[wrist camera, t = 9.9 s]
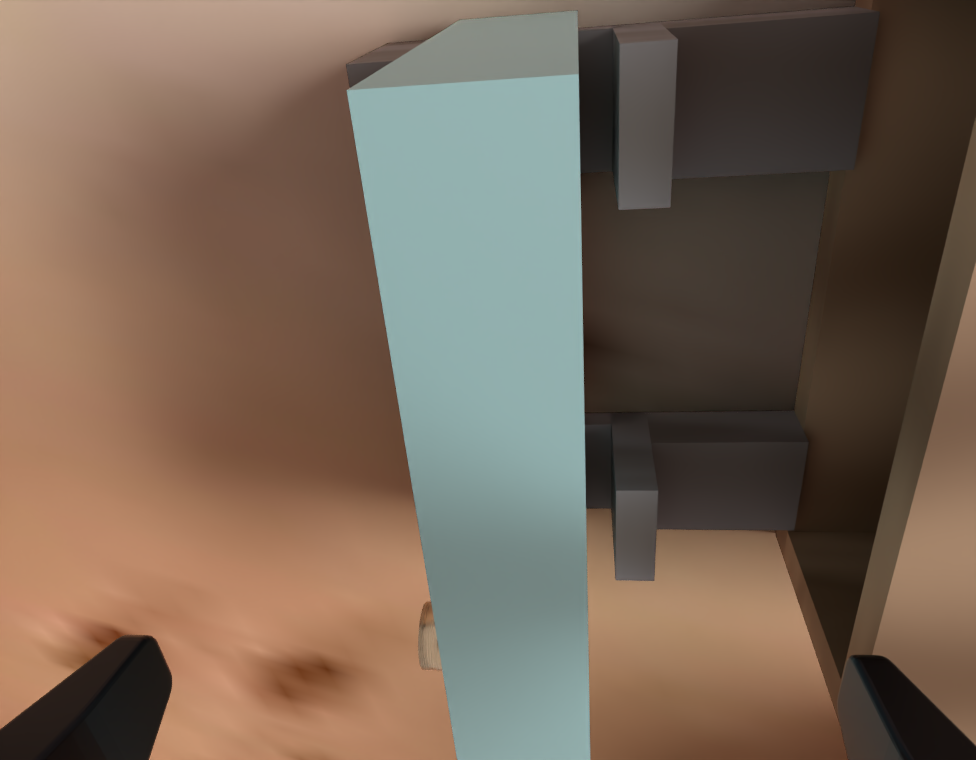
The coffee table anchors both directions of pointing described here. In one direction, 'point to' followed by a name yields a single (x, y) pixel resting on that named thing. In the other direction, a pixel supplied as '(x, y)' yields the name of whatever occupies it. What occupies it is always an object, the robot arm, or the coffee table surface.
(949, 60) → the brown legged block
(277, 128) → the coffee table surface
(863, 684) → the robot arm
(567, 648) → the door
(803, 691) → the coffee table surface
